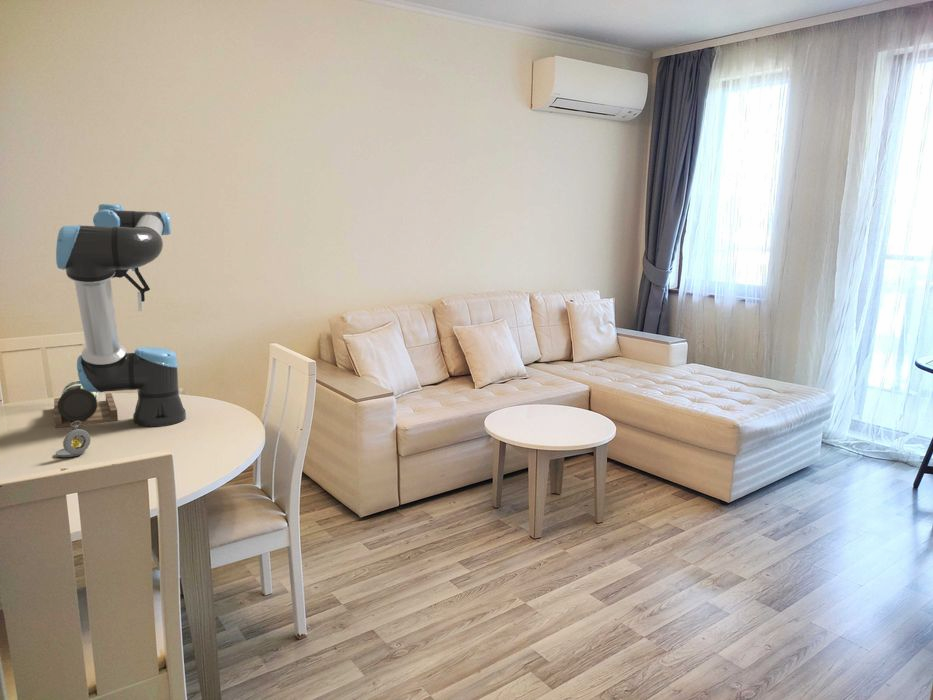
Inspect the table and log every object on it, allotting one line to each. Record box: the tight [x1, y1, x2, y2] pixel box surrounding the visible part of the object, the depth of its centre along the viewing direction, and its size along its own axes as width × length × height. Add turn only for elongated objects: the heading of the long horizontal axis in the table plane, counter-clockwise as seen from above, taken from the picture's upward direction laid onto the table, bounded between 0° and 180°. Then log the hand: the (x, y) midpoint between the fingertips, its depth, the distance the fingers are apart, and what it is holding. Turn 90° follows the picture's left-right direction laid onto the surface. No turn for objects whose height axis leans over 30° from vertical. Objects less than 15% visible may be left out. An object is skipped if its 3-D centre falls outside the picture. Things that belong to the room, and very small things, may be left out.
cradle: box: [53, 392, 119, 429], centre depth 197 cm, size 24×17×4 cm
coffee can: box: [58, 379, 100, 421], centre depth 192 cm, size 10×10×14 cm
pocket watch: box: [55, 421, 91, 458], centre depth 161 cm, size 8×8×10 cm
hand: (118, 311), depth 211 cm, fingers open, 13 cm apart
